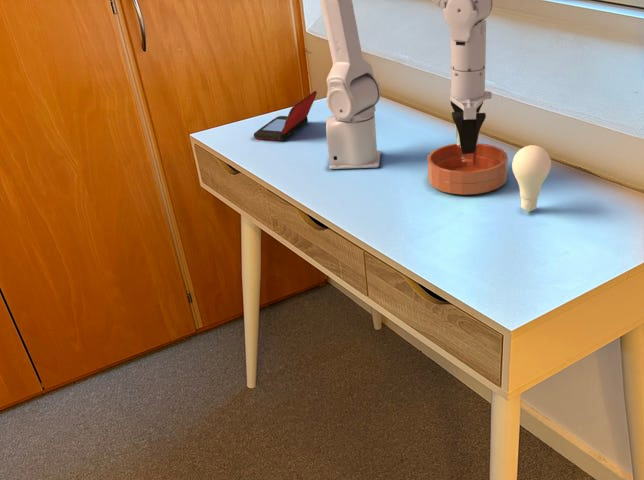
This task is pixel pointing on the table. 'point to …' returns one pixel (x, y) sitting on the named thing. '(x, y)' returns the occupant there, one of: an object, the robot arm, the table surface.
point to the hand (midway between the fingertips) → (467, 147)
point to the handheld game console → (287, 121)
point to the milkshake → (465, 159)
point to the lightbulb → (530, 173)
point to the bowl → (467, 170)
